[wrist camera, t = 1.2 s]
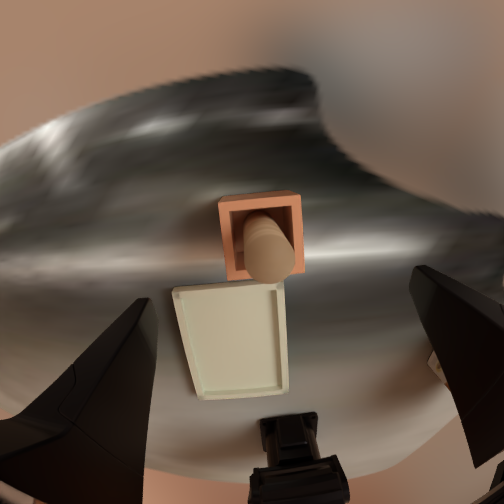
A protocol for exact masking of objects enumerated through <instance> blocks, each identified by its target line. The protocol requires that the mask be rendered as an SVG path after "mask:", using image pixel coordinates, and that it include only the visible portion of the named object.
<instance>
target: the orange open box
mask: <svg viewBox="0 0 504 504" xmlns="http://www.w3.org/2000/svg"><path fill="white" fill-rule="evenodd" d="M218 207H219V216H220V224H221V232H222V241H223V249H224V257H225V264H226V272H227V280H228V281H230V280H240V279H250V278H252V277H251V276H250V275H249V274H248V272H247V270H246V268H245V263H244V233H243V223H244V220H245V218H246V216H247V215H248V214H249V213H251V212H253V211H256V210H262V211H265V212H267V213H269V214H270V215H271V216H272V218H273V219H274V221H275V222H276V224H277V225H278V227H279V228H280V230H281V231H282V233H283V234H284V236H285V237H286V239H287V240H288V242H289V243H290V245H291V246H292V248H293V250H294V253H295V265H294V268H293V270H292V272H291V273H290V274H297V273H305V264H304V243H303V226H302V210H301V196H300V195H299V194H297V193H294V192H292V191H289V190H282V191H270V192H259V193H249V194H239V195H229V196H223V197H222V198H221V200H220V201H219V202H218Z"/></svg>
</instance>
